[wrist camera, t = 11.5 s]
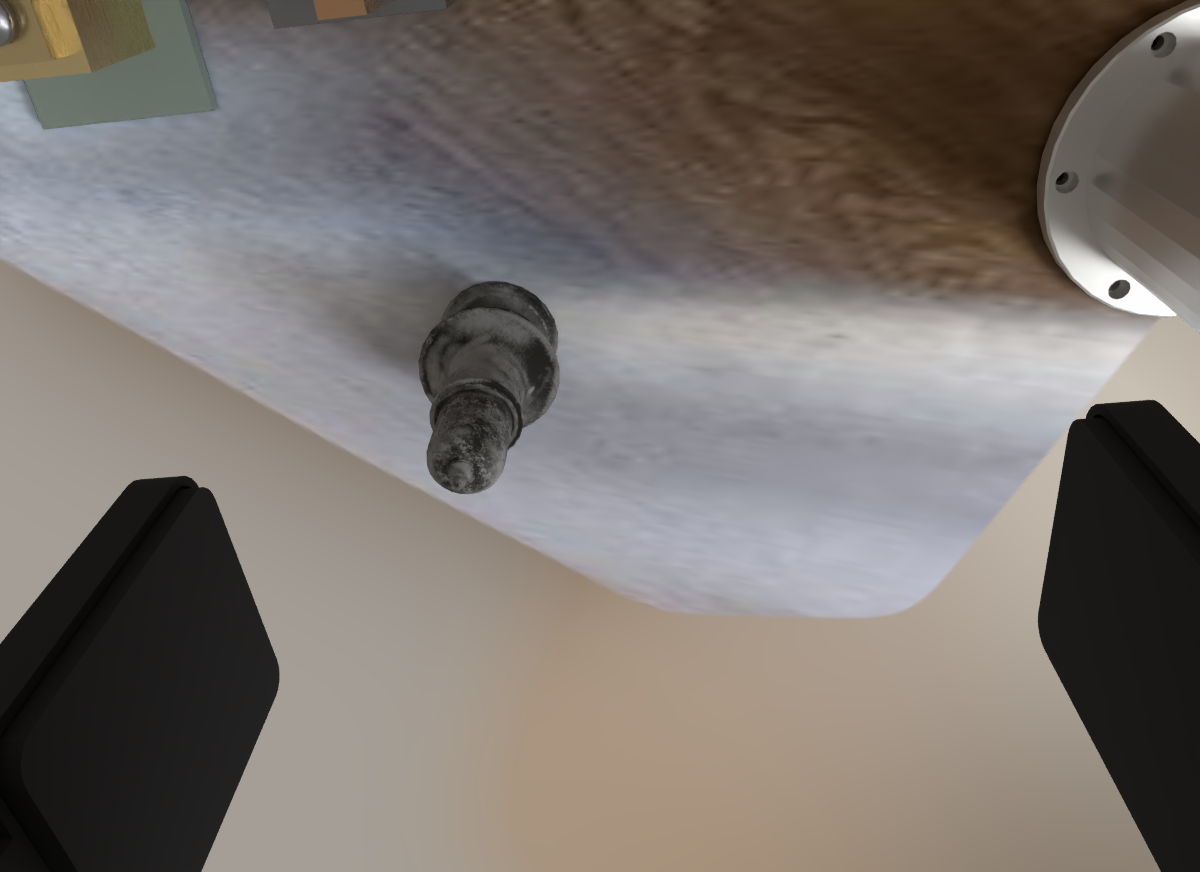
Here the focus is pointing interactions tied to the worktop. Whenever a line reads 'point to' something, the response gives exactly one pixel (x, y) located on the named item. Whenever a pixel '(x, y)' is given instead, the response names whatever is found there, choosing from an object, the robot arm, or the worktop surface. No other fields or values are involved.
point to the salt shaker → (486, 381)
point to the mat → (134, 78)
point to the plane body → (344, 10)
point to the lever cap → (69, 36)
